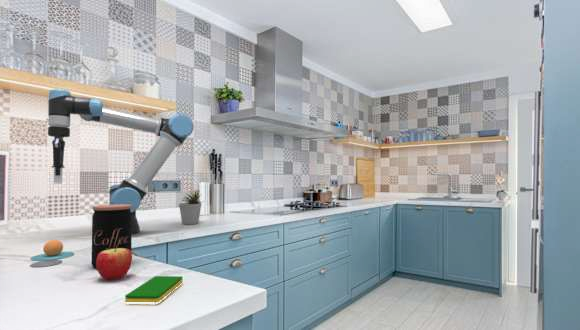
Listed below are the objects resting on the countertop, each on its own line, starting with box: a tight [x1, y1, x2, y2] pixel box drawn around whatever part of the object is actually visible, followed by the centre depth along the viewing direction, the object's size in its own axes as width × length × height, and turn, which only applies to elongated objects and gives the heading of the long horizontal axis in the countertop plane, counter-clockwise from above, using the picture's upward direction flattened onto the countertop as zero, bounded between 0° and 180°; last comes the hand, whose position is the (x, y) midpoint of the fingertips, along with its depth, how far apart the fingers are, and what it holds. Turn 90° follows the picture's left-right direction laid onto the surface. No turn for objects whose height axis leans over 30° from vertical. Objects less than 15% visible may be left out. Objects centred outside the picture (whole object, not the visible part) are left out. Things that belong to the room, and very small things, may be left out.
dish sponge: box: [124, 275, 184, 303], centre depth 75 cm, size 7×14×2 cm, turn 177°
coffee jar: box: [91, 204, 133, 270], centre depth 100 cm, size 11×11×18 cm
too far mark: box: [29, 259, 63, 268], centre depth 102 cm, size 8×8×1 cm
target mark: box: [30, 251, 75, 262], centre depth 112 cm, size 12×12×1 cm
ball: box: [42, 239, 64, 256], centre depth 112 cm, size 6×6×6 cm
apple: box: [96, 239, 133, 281], centre depth 87 cm, size 8×8×10 cm
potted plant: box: [178, 189, 205, 226], centre depth 190 cm, size 13×14×20 cm
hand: (57, 183), depth 137 cm, fingers closed
